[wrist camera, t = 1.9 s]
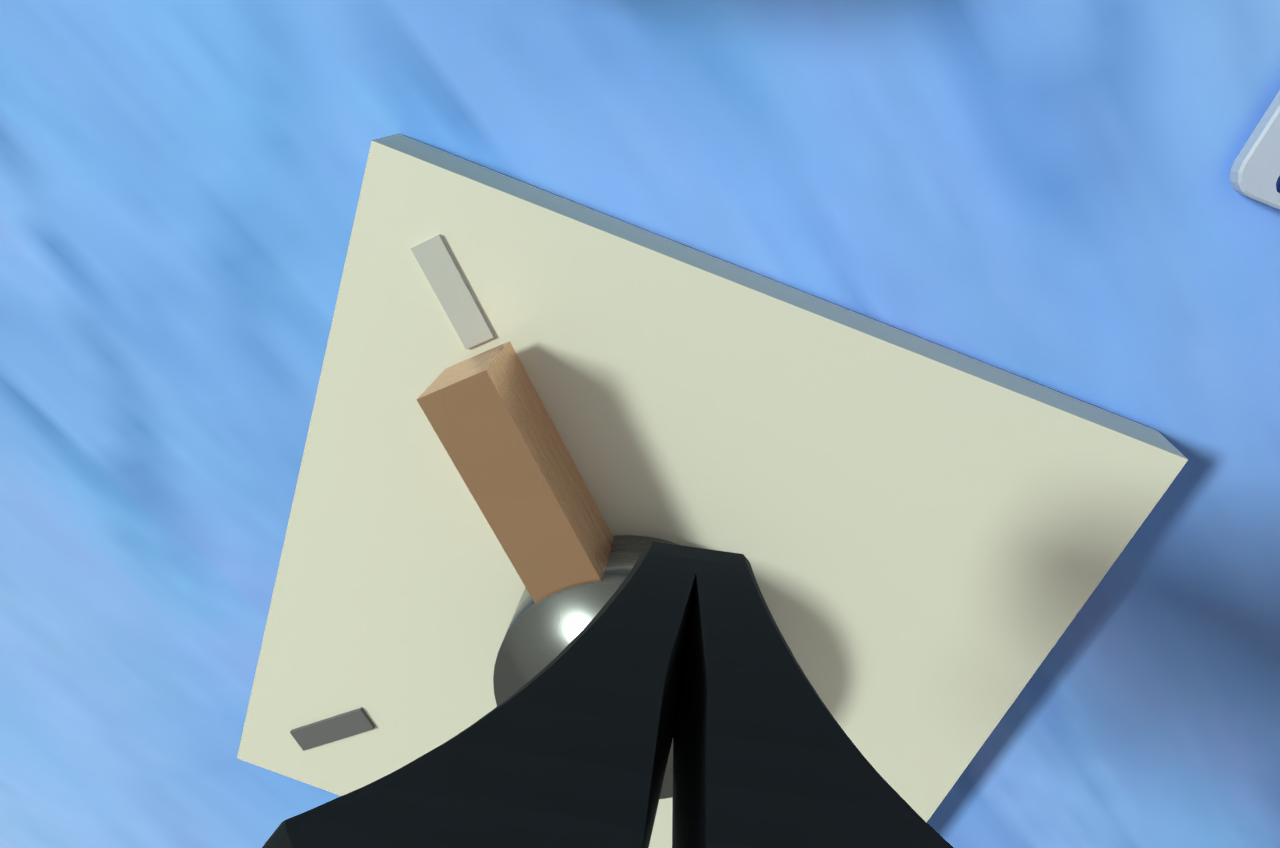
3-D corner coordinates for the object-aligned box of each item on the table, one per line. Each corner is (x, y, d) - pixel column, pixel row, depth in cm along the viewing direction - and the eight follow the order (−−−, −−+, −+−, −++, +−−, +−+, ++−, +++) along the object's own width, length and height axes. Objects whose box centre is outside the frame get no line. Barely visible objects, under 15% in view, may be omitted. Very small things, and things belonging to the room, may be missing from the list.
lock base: (1157, 430, 19) (1190, 461, 18) (817, 922, 27) (820, 972, 25) (399, 133, 19) (369, 140, 17) (263, 721, 26) (234, 760, 25)
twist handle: (798, 703, 21) (802, 764, 19) (581, 762, 23) (566, 824, 21) (603, 299, 18) (586, 328, 16) (363, 402, 19) (323, 439, 18)
